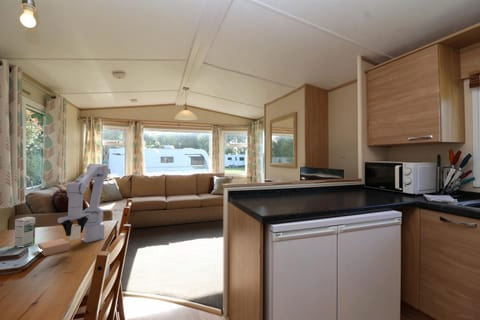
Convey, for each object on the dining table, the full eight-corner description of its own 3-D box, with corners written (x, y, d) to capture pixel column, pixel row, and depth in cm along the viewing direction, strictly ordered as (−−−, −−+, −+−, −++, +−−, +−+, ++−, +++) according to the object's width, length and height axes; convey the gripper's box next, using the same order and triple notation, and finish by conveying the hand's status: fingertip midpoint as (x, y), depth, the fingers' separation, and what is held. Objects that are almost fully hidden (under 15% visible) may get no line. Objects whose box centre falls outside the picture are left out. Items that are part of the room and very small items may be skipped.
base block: (62, 246, 119) (62, 238, 119) (69, 250, 113) (69, 242, 113) (37, 251, 111) (38, 243, 111) (43, 256, 105) (44, 248, 105)
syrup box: (22, 248, 114) (23, 219, 115) (13, 247, 115) (14, 218, 116) (34, 244, 120) (36, 217, 120) (26, 243, 121) (27, 216, 121)
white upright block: (77, 236, 113) (78, 224, 114) (80, 238, 111) (80, 225, 111) (68, 238, 110) (68, 225, 110) (70, 240, 108) (70, 227, 108)
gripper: (84, 203, 119) (83, 229, 119) (53, 208, 105) (52, 237, 105) (93, 204, 117) (92, 230, 116) (64, 209, 103) (62, 239, 103)
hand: (74, 234), depth 111 cm, fingers closed on white upright block, 5 cm apart
